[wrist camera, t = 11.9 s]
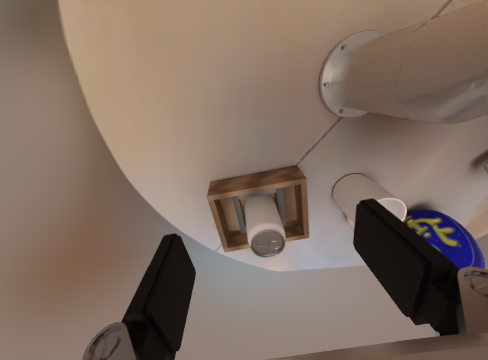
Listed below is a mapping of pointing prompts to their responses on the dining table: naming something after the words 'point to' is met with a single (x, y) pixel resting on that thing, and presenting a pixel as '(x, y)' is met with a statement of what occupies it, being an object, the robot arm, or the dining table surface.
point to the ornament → (446, 237)
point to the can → (264, 226)
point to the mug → (364, 197)
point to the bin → (269, 182)
